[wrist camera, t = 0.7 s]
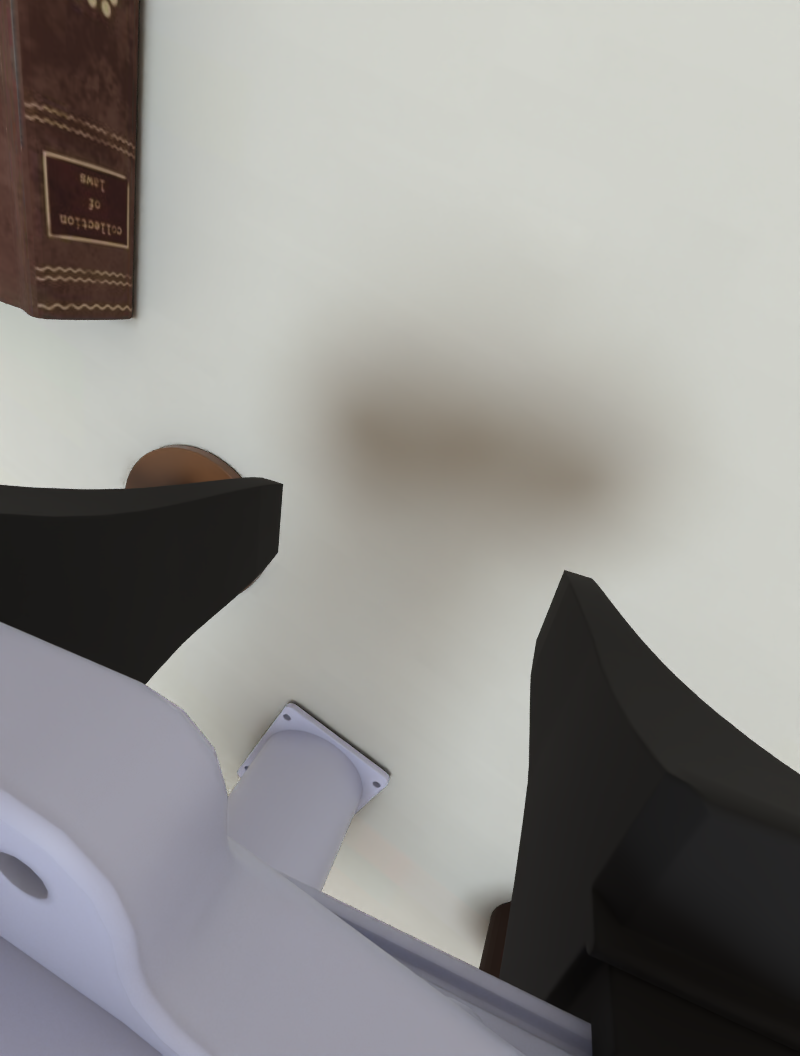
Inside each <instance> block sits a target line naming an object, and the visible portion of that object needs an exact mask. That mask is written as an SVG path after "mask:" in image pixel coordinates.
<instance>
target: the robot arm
mask: <svg viewBox="0 0 800 1056" xmlns="http://www.w3.org/2000/svg"><path fill="white" fill-rule="evenodd" d="M282 491H283V484H281V483H278V482H275V481H272V480H268V479H265V478H258V477H247V478H233V479H224V480H215V481H206V482H197V483H189V484H179V485H168V486H157V487H146V488H131V489H57V488H33V487H19V486H7V485H0V1056H800V774H799V773H797V772H796V771H794V770H793V769H791V768H790V767H788V766H787V765H785V764H784V763H782V762H781V761H779V760H778V759H777V758H775V757H774V756H773V755H771V754H770V753H768V752H767V751H766V750H764V749H763V748H762V747H760V746H759V745H757V744H756V743H755V742H753V741H752V740H751V739H749V738H748V737H747V736H746V735H744V734H743V733H742V732H741V731H739V730H738V729H737V728H736V727H734V726H733V725H732V724H730V723H729V722H728V721H727V720H725V719H724V718H723V717H722V716H720V715H719V714H718V713H717V712H715V711H714V710H713V709H712V708H711V707H710V706H708V705H707V704H706V703H705V702H704V701H703V700H701V699H700V698H699V697H698V696H697V695H696V694H695V693H694V692H693V691H692V690H690V689H689V688H688V687H687V686H686V685H685V684H684V683H683V682H682V681H681V680H680V679H679V678H677V677H676V676H675V675H674V674H673V673H672V672H671V671H670V670H669V669H668V668H667V667H666V666H665V665H664V664H663V663H662V662H661V660H660V659H659V658H658V657H657V656H656V655H655V654H654V653H653V652H652V651H651V650H650V648H649V647H648V646H647V645H646V644H645V643H644V642H643V641H642V640H641V638H640V637H639V636H638V635H637V634H636V633H635V631H634V630H633V629H632V628H631V627H630V625H629V624H628V623H627V622H626V620H625V619H624V618H623V617H622V615H621V614H620V613H619V612H618V610H617V609H616V608H615V606H614V605H613V604H612V603H611V601H610V600H609V599H608V597H607V596H606V595H605V593H604V592H603V591H602V590H601V588H600V587H599V586H598V585H597V583H596V582H595V581H594V580H593V579H592V578H588V577H585V576H582V575H579V574H575V573H572V572H569V571H566V570H564V573H563V575H562V578H561V580H560V583H559V585H558V588H557V590H556V593H555V595H554V598H553V600H552V603H551V605H550V608H549V610H548V613H547V615H546V618H545V620H544V623H543V625H542V628H541V630H540V633H539V635H538V638H537V641H536V646H535V652H534V658H533V664H532V671H531V683H530V736H529V771H528V785H527V793H526V801H525V809H524V817H523V824H522V832H521V839H520V846H519V853H518V860H517V867H516V874H515V881H514V888H513V894H512V900H511V907H510V913H509V920H508V926H507V933H506V939H505V945H504V951H503V957H502V963H501V969H500V975H499V979H498V978H496V977H494V976H492V975H490V974H488V973H486V972H484V971H482V970H480V969H478V968H476V967H474V966H472V965H470V964H468V963H466V962H464V961H462V960H460V959H457V958H455V957H453V956H451V955H449V954H447V953H445V952H443V951H441V950H439V949H437V948H435V947H433V946H431V945H429V944H427V943H425V942H423V941H421V940H419V939H417V938H415V937H413V936H411V935H409V934H407V933H405V932H402V931H400V930H398V929H396V928H394V927H392V926H390V925H388V924H386V923H384V922H382V921H380V920H378V919H376V918H374V917H372V916H370V915H368V914H366V913H364V912H362V911H360V910H358V909H356V908H354V907H352V906H350V905H347V904H345V903H343V902H341V901H339V900H337V899H335V898H333V897H331V896H329V895H327V894H325V893H323V892H321V891H322V889H323V886H324V884H325V882H326V879H327V877H328V874H329V872H330V870H331V867H332V865H333V863H334V860H335V858H336V856H337V853H338V851H339V849H340V846H341V844H342V841H343V839H344V837H345V834H346V832H347V830H348V827H349V825H350V823H351V820H352V818H353V816H354V815H355V814H356V813H357V812H358V811H359V810H360V809H361V808H362V807H363V806H365V805H366V804H367V803H368V802H369V801H370V800H371V799H372V798H373V797H375V796H376V795H377V794H378V793H379V792H380V791H381V790H382V789H384V788H385V787H386V786H387V785H388V783H389V780H390V777H389V775H388V774H387V773H386V772H385V771H384V770H382V769H381V768H380V767H378V766H377V765H376V764H374V763H373V762H372V761H370V760H369V759H368V758H366V757H365V756H364V755H362V754H361V753H360V752H358V751H357V750H356V749H354V748H353V747H352V746H350V745H349V744H348V743H346V742H345V741H344V740H342V739H341V738H340V737H338V736H337V735H336V734H334V733H333V732H332V731H330V730H329V729H328V728H326V727H325V726H324V725H322V724H321V723H320V722H318V721H317V720H316V719H314V718H313V717H312V716H310V715H309V714H308V713H306V712H305V711H304V710H302V709H301V708H300V707H298V706H297V705H295V704H293V703H288V704H287V705H286V706H285V707H284V709H283V710H282V711H281V713H280V714H279V715H278V717H277V718H276V719H275V721H274V722H273V723H272V725H271V726H270V728H269V729H268V730H267V732H266V733H265V734H264V736H263V737H262V738H261V740H260V741H259V742H258V744H257V745H256V746H255V748H254V749H253V750H252V752H251V753H250V755H249V756H248V757H247V759H246V760H245V761H244V763H243V764H242V765H241V767H240V768H239V769H238V771H237V774H238V776H239V777H240V778H241V779H240V780H239V782H238V783H237V784H236V786H235V787H234V789H233V790H232V791H231V793H230V794H229V796H227V791H226V785H225V782H224V778H223V775H222V771H221V768H220V764H219V761H218V758H217V754H216V751H215V748H214V747H213V745H212V744H211V743H210V742H209V741H208V739H207V738H206V737H205V736H204V734H203V733H202V732H201V731H200V729H199V728H198V727H197V726H196V724H195V723H194V722H193V721H192V720H191V718H190V717H189V716H188V715H187V713H186V712H185V711H184V710H183V709H181V708H180V707H178V706H177V705H175V704H174V703H172V702H171V701H169V700H168V699H166V698H165V697H163V696H161V695H160V694H158V693H157V692H155V691H154V690H152V689H151V688H149V687H148V686H146V685H145V684H146V683H147V682H148V681H149V680H150V678H151V677H152V676H153V675H154V674H155V673H156V672H157V671H158V670H159V668H160V667H161V666H162V665H163V664H164V663H165V662H166V661H167V660H168V659H169V658H170V657H171V656H172V654H173V653H174V652H175V651H176V650H177V649H178V648H179V647H180V646H181V645H182V644H183V643H184V642H185V641H186V640H187V639H188V638H189V637H190V636H191V635H192V634H193V633H194V632H196V631H197V630H198V629H199V628H200V627H201V626H202V625H204V624H205V623H206V622H207V621H208V620H209V619H211V618H212V617H213V616H214V615H215V614H216V613H218V612H219V611H220V610H221V609H222V608H223V607H224V606H226V605H227V604H228V603H229V602H230V601H231V600H233V599H234V598H235V597H236V596H237V595H238V594H239V593H241V592H242V591H243V590H244V589H245V588H246V587H247V586H249V585H250V584H251V583H252V582H253V581H254V580H255V579H256V578H257V577H258V576H259V575H260V574H261V572H262V571H263V570H264V569H265V568H266V567H267V565H268V564H269V563H270V562H271V560H272V559H273V558H274V557H275V555H276V554H277V553H278V545H279V531H280V518H281V505H282Z"/></svg>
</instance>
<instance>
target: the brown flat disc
mask: <svg viewBox="0 0 800 1056" xmlns="http://www.w3.org/2000/svg"><path fill="white" fill-rule="evenodd" d="M233 478H241V477H240V476H239V475H238V474H237V473H236V472H235V471H234V470H233V469H232V468H231V467H230V466H229V465H227V464H226V463H225V462H224V461H222V460H220V459H219V458H217V457H216V456H214V455H212V454H210V453H208V452H206V451H204V450H201V449H198V448H195V447H190V446H183V445H173V446H166V447H163V448H159V449H156V450H153V451H151V452H149V453H147V454H146V455H144V456H143V457H142V458H140V459H139V461H138V462H137V463H136V464H135V465H134V467H133V468H132V470H131V472H130V474H129V476H128V479H127V483H126V487H125V489H131V488H146V487H157V486H168V485H179V484H189V483H197V482H206V481H215V480H224V479H233ZM261 573H262V572H261ZM259 576H260V575H259ZM259 576H258V577H259ZM258 577H257V578H256V579H255V580H254V581H253V582H252V583H251V584H250V585H249V586H247V587H246V588H245V589H244V590H246V589H247V588H248V587H250V586H251V585H252V584H253V583H254V582H255V581H256V580H257V579H258ZM244 590H243V591H244ZM243 591H242V592H243ZM242 592H241V593H242Z"/></svg>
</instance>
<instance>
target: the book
mask: <svg viewBox="0 0 800 1056" xmlns="http://www.w3.org/2000/svg"><path fill="white" fill-rule="evenodd" d="M138 26H139V0H0V301H1V302H4V303H6V304H9V305H12V306H15V307H18V308H21V309H23V310H24V311H25V312H26V313H27V314H29V315H30V316H33V317H36V318H43V319H59V320H117V319H130V318H131V317H132V297H133V253H134V208H135V162H136V117H137V71H138Z"/></svg>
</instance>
